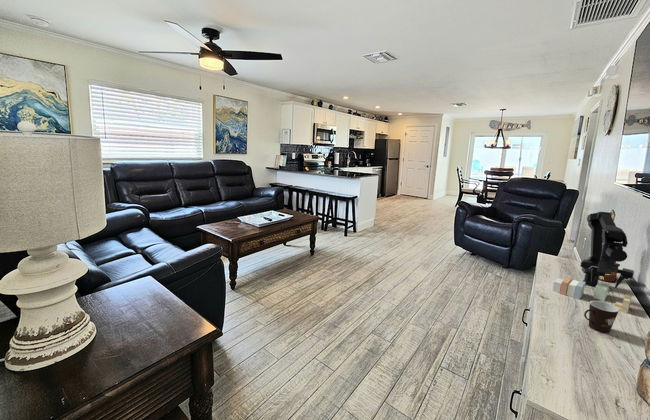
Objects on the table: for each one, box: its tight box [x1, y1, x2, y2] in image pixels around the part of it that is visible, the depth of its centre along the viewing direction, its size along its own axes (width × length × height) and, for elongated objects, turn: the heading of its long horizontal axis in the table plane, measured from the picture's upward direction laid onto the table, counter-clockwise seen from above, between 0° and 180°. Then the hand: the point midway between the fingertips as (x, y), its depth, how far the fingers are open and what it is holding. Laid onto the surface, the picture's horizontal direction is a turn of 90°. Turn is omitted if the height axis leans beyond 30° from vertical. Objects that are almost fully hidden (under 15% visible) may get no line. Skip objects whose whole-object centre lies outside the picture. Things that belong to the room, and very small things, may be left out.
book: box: [593, 281, 610, 302], centre depth 147 cm, size 9×4×6 cm, turn 130°
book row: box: [552, 276, 586, 300], centre depth 151 cm, size 9×11×6 cm
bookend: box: [614, 294, 633, 314], centre depth 136 cm, size 8×4×6 cm, turn 130°
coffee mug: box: [583, 300, 620, 334], centre depth 120 cm, size 12×9×10 cm
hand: (602, 284), depth 147 cm, fingers open, 9 cm apart
